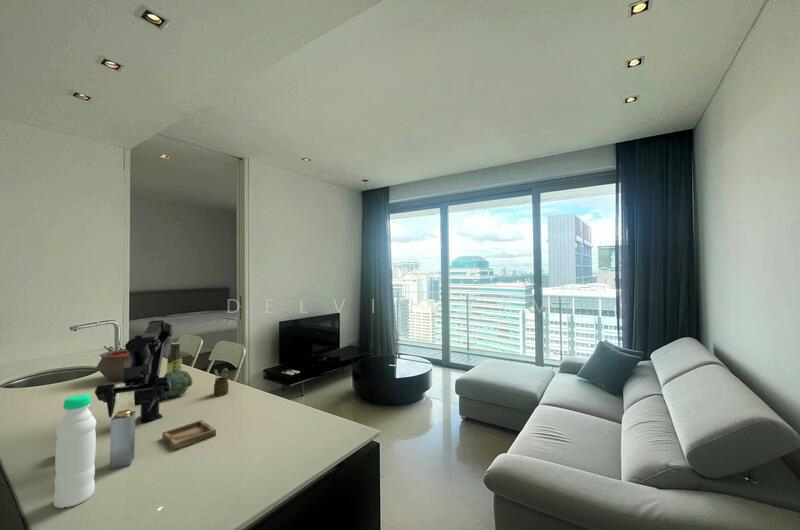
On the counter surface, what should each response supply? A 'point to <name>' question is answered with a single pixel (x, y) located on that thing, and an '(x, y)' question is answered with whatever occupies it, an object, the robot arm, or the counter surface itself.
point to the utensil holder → (220, 385)
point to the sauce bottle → (174, 358)
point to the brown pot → (114, 364)
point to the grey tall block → (122, 439)
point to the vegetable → (178, 382)
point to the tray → (188, 434)
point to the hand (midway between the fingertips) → (129, 413)
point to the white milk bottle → (75, 453)
